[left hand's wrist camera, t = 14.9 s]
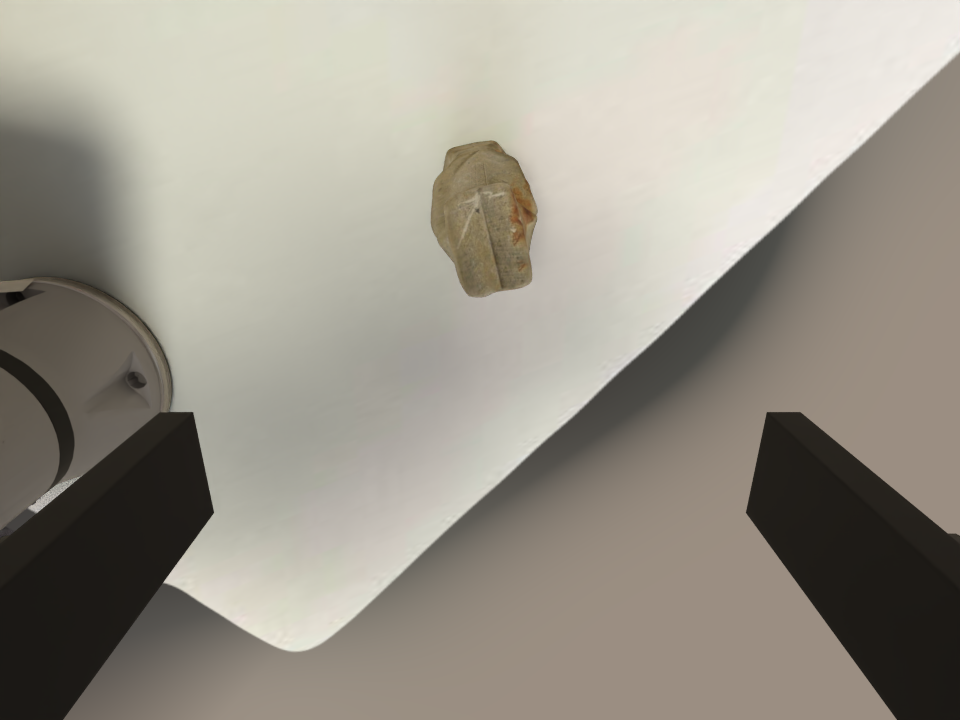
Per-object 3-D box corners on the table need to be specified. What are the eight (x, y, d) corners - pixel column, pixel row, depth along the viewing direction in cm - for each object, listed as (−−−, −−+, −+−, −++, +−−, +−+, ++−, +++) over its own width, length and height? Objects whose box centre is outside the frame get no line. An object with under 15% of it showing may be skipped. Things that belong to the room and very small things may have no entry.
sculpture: (450, 255, 40) (433, 314, 26) (431, 150, 37) (402, 151, 23) (530, 243, 39) (557, 295, 25) (517, 136, 37) (540, 128, 23)
